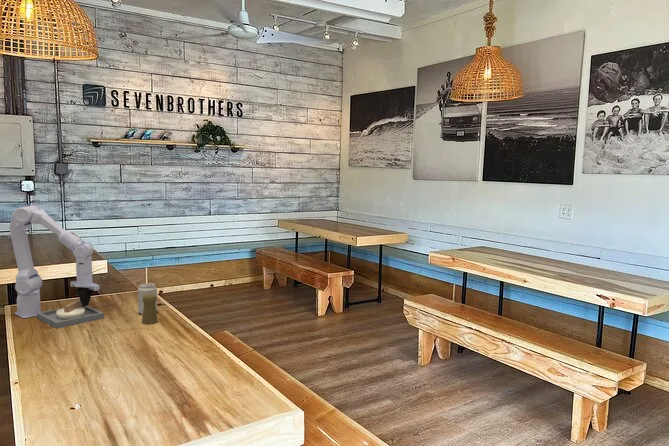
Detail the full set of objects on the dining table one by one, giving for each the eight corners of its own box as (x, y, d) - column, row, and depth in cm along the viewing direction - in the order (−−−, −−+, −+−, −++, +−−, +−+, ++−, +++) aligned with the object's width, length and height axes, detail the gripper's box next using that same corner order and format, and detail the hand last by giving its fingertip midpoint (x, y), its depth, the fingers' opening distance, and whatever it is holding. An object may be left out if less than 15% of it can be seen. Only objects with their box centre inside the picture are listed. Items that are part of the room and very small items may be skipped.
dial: (51, 318, 194) (50, 307, 194) (69, 308, 207) (69, 298, 207) (76, 319, 194) (76, 308, 194) (93, 309, 207) (93, 299, 207)
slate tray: (37, 318, 198) (37, 313, 198) (83, 309, 212) (83, 304, 212) (56, 328, 187) (56, 322, 186) (104, 318, 201) (104, 312, 200)
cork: (160, 320, 200) (160, 293, 199) (153, 324, 194) (153, 297, 193) (146, 319, 201) (145, 292, 200) (138, 323, 195) (138, 296, 194)
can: (153, 315, 206) (152, 286, 204) (135, 314, 206) (134, 286, 205) (159, 310, 213) (159, 282, 212) (142, 309, 213) (141, 282, 212)
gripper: (63, 272, 202) (64, 305, 203) (88, 276, 196) (89, 310, 197) (78, 269, 208) (79, 301, 210) (103, 273, 202) (104, 306, 204)
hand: (85, 305), depth 204 cm, fingers closed
